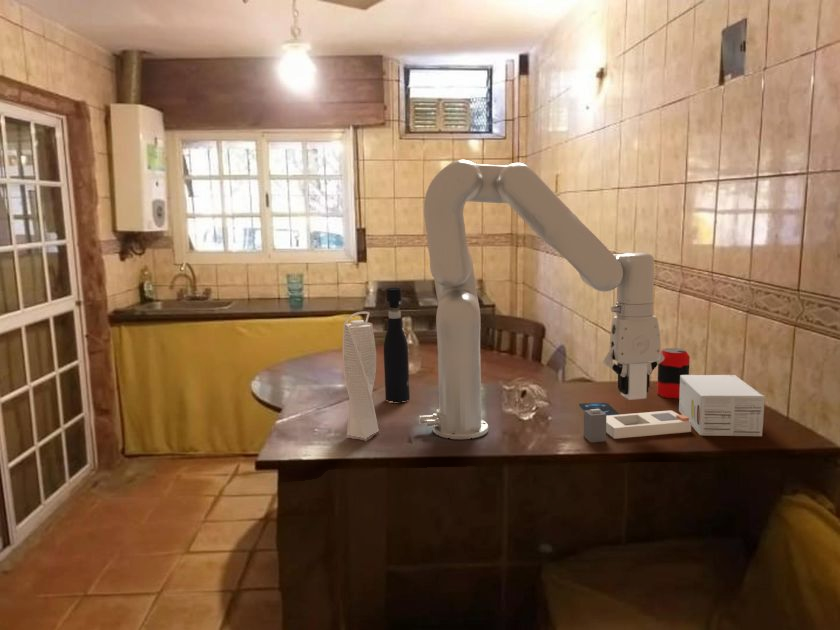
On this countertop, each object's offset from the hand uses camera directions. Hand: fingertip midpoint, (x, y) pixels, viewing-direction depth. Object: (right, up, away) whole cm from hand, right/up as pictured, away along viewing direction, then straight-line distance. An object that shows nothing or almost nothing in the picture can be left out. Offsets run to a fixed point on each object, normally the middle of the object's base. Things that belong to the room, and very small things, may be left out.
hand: (633, 391), depth 141 cm
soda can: (+19, -4, +27) cm, 33 cm away
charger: (0, -1, 0) cm, 1 cm away
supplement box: (+21, -8, +5) cm, 23 cm away
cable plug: (-9, -10, -3) cm, 14 cm away
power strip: (+3, -9, +2) cm, 9 cm away
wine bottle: (-53, -6, +29) cm, 61 cm away
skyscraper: (-60, -11, +3) cm, 61 cm away
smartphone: (-3, -8, +14) cm, 16 cm away
